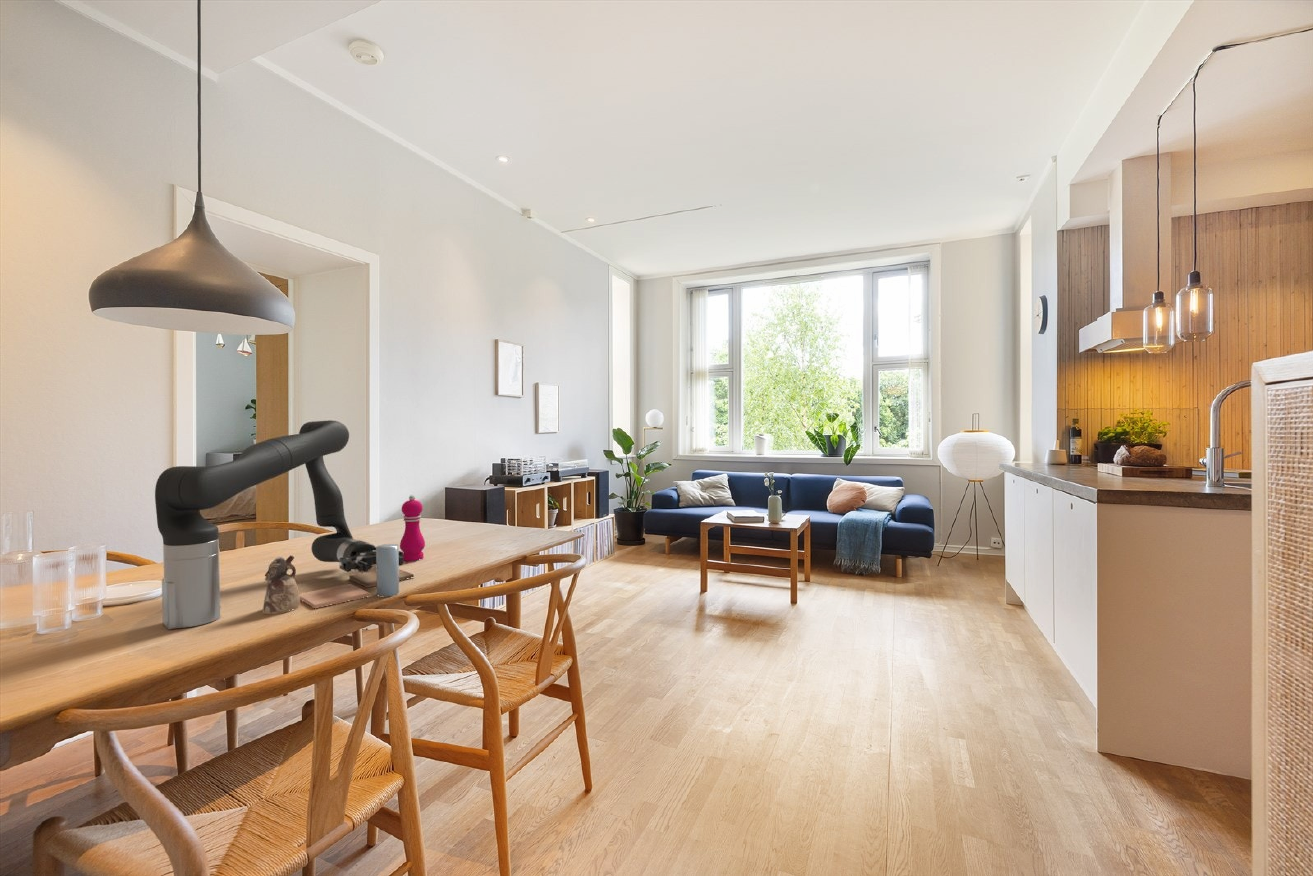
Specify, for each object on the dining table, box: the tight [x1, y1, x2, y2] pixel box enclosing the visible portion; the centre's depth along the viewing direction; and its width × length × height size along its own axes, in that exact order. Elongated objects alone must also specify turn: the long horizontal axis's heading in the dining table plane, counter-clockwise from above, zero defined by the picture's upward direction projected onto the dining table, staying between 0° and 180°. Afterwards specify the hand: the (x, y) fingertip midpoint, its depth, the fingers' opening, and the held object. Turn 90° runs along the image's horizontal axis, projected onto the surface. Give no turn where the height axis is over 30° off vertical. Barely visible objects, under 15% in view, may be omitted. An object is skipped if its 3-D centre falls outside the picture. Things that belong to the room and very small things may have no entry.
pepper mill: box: [399, 494, 426, 562], centre depth 177 cm, size 7×7×20 cm
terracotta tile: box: [299, 583, 371, 610], centre depth 139 cm, size 12×12×1 cm
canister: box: [375, 543, 400, 598], centre depth 141 cm, size 5×5×12 cm
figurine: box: [262, 554, 301, 615], centre depth 130 cm, size 7×7×12 cm
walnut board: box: [349, 568, 415, 588], centre depth 155 cm, size 12×12×1 cm
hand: (384, 564), depth 143 cm, fingers open, 8 cm apart
